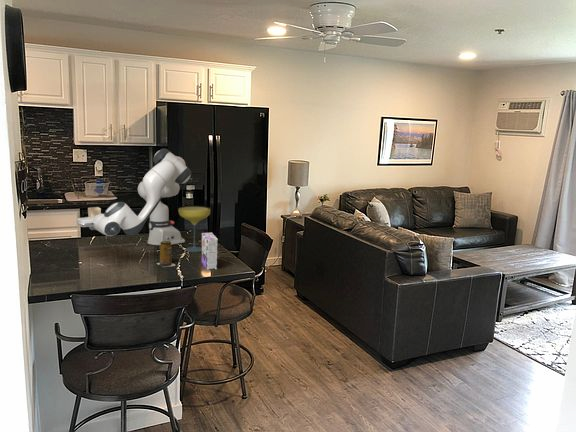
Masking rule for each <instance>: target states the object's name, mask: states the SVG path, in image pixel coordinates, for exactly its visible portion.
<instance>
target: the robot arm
mask: <svg viewBox="0 0 576 432" xmlns="http://www.w3.org/2000/svg"><path fill="white" fill-rule="evenodd" d="M152 159H153V163H154V166H153V167H152V168H150V170H148V171H147V172H146V173H145V175H144V177H143V178H142V181H140V182H139V184H138V186H137V193H138V195H139V196H140V197H141V198H143V200H145V202H146V203H145V205H144V207H142V210H141V211H140V212H139V214H138V215H137V214H136V213H135V212H134V210H132V208H130V206H129V205H128V204H127V203H125V202H124V201H117V202H114V203H111V205H110V206H108V207H107V208H106V209H105V212H104V213H101V214H98V215H96V216H95V217H88V216H85V217H78V218H76V226H78V227H81V228H89V227H91V226H93V227H94V228H95V229H96V230H95V231H98V232H99V233H101V234H102V235H105V236H107V237H113V236H116V235H118V234H119V233H120V232H121V229H122V231H123V232H124V234H125V235H126V236H127V235H128V236H135V235H137V234H139V233H140V232H141V230H142V229H143V228H144V226H145V223H146V222H147V220H148V219H149V220H148V221H149V222H148V228H149V231H148V232H149V235H148V239H147V241H146V242H147V244H148V245H153V246H160V245H161V242H162V241H170V242H171V246H172V245H177V244H182V243H186V240H185V238H183V237H182V234H181V232H180V231H179V229H177V228H176V227H174V226H173V225H174V224H175V221H173V220H170V219H169V218H170V217H169V215H170V214H169V207H168V205H166V204H164V203H163V202H162V201H161V200H162V199H163V198H171V197H173V196H174V197H175V196H176V195H177V196H178V194H179V193H180V187H181V186H180V185H183V184H186V183H187V182H188V181H189V180H190V178H191V175H192V170H191V169H190V168H189V167H188V166H186V161H185V160H184V159H183V158H182V157H181V156H177V155H175V154H174V153H172V152H171V151H170V150H168V149H167V148H161V149H160V150H158V151H156V153H155V154H154V156H153V157H152Z"/></svg>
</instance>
